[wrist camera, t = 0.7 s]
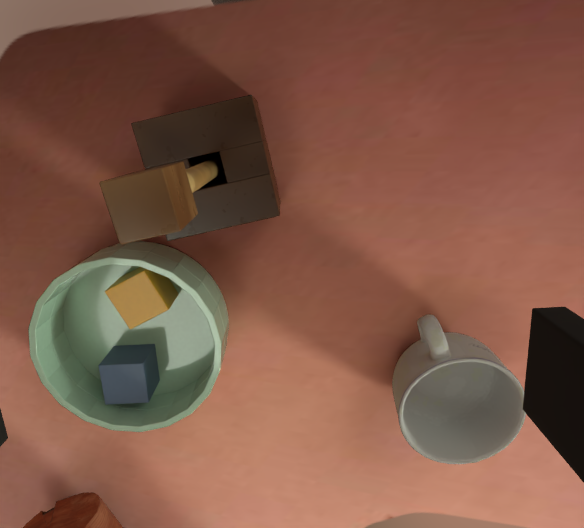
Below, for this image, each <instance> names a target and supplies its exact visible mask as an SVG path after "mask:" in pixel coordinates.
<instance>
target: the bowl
mask: <svg viewBox="0 0 584 528" xmlns="http://www.w3.org/2000/svg"><path fill="white" fill-rule="evenodd" d="M139 267H142V268H145V269H147V270H150V271H152V272H155V273H158V274H160V275H163V276H165V277H168V278H169V279H170V281H171V282H172V284H173V286H174V287H175V289H176V290H177V292H178V293H179V295H178V296H177V298H176V299H175V301H174V302H173V304H172V306H171V307H170V309H169V310H167V311H165V312H163V313H161V314H160V315H158V316H156V317H154V318H152V319H150V320H148V321H146V322H144V323H142V324H140V325H138V326H136V327H134V328H132V329H129V327H128V326H127V324H126V323H125V321H124V320H123V318H122V317H121V315H120V314H119V312H118V311H117V309H116V308H115V306H114V305H113V304H112V302H111V301H110V299H109V298H108V296H107V295H106V293H105V290H107V289H108V288H109V287H110V286H111V285H112V284H113V283H114V282H116V281H117V280H118V279H119V278H120V277H122V276H123V275H125V274H127V273H129V272H131V271H133V270H135V269H137V268H139ZM228 329H229V320H228V312H227V307H226V303H225V301H224V298H223V295H222V293H221V291H220V289H219V287H218V285H217V284H216V282H215V281H214V280H213V278H212V277H211V275H210V274H209V273H208V272H207V271H206V270H205V269H204V268H203V267H202V266H201V265H200V264H199V263H197V262H196V261H195V260H193V259H192V258H191V257H189V256H188V255H186V254H184V253H182V252H180V251H178V250H176V249H174V248H171V247H168V246H165V245H162V244H157V243H152V242H142V241H140V242H130V243H126V244H120V243H119V244H116V245H112V246H109V247H107V248H103V249H101V250H99V251H98V252H96V253H95V254H93V255H91V256H90V257H88V258H86V259H85V260H83V261H82V262H80V263H78V264H77V265H75V266H74V267H72V268H71V269H69V270H68V271H66V272H65V273H63V274H62V275H60V276H58V277H57V278H55V279H54V280H53V281H52V283H51V284H50V285H49V286H48V288H47V289H46V290H45V292H44V293H43V294H42V295H41V297H40V298H39V299H38V300H37V302H36V305H35V309H34V312H33V315H32V318H31V322H30V325H29V329H28V330H29V345H30V356H31V359H32V361H33V363H34V366H35V368H36V371H37V373H38V375H39V378H40V380H41V382H42V384H43V385H44V386H45V387H46V388H47V389H48V391H49V392H50V393H51V394H52V395H53V397H54V398H55V399H56V400H57V401H58V403H59V404H60V405H62V406H63V407H65V408H66V409H68V410H69V411H71V412H72V413H74V414H75V415H77V416H78V417H80V418H81V419H83V420H84V421H87V422H90V423H93V424H96V425H98V426H101V427H104V428H107V429H110V430H117V431H132V432H143V431H148V430H153V429H158V428H163V427H167V426H170V425H172V424H173V423H175V422H177V421H179V420H181V419H183V418H184V417H186V416H188V415H190V414H191V413H193V412H194V410H195V409H196V408H197V407H198V406H199V405H200V404H201V403H202V402H203V401H204V400H205V399H206V398H207V397H208V395H209V394H210V392H211V390H212V388H213V385H214V383H215V381H216V379H217V376H218V374H219V372H220V368H221V365H222V361H223V357H224V354H225V350H226V346H227V337H228ZM140 344H155V348H156V356H157V363H158V370H159V377H160V381H159V383H158V385H157V387H156V389H155V391H154V393H153V395H152V397H151V399H150V401H149V403H129V404H109V405H105V400H104V394H103V389H102V383H101V378H100V372H99V366H98V365H99V364H100V363H101V362H102V360H103V359H104V358H105V357H106V355H107V354H108V353H109V351H110V350H111V349H112V348H113V346H120V345H140Z"/></svg>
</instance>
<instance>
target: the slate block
mask: <svg viewBox="0 0 584 528" xmlns="http://www.w3.org/2000/svg"><path fill="white" fill-rule="evenodd" d="M98 366H99V372H100V378H101V383H102V389H103V394H104V400H105V405H109V404H129V403H149V401H150V399H151V397H152V395H153V393H154V391H155V389H156V387H157V385H158V383H159V381H160V377H159V370H158V363H157V356H156V348H155V344H140V345H120V346H113V348H112V349H111V350H110V351H109V353H108V354H107V355H106V357H105V358H104V359H103V360H102V362H101V363H100V364H99V365H98Z"/></svg>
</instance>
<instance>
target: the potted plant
mask: <svg viewBox="0 0 584 528" xmlns="http://www.w3.org/2000/svg"><path fill="white" fill-rule="evenodd" d="M23 528H123V527H122V525H121V524H120V523H119V522H118V520H117V519H116V518H115V516H114V515H113V514H112V512H111V511H110V510H109V509H108V507H107V506H106V505H105V503H104V502H103V501H102V499H101V498H100V497H99V496H98V495H96V494H95V493H81V494H78V495H74V496H71V497H68V498H66V499H63V500H60V501H57V502H56V505H55V507H54V508H52V509H51V510H49V511H47V512H43V511H41V512H40V513H38V514H37V515H36V516H35V517H34V518H33V519H32V520H30V521H29V522H28V523H27V524H26V525H25V526H24V527H23Z"/></svg>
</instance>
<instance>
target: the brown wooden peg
mask: <svg viewBox="0 0 584 528" xmlns="http://www.w3.org/2000/svg"><path fill="white" fill-rule="evenodd" d="M222 172H224V168H223V164H222V160H221V157H215V158H213V159H210V160H208V161H205V162H203V163H200V164H198V165H195V166H193V167H190V168H188V169H185V165H184V162H183V161H181V162H176V163H172V164H168V165H163V166H159V167H155V168H151V169H146V170H142V171H138V172H133V173H130V174H126V175H122V176H119V177H115V178H112V179H108V180H105V181H101V182H100V187H101V190H102V193H103V196H104V199H105V202H106V204H107V207H108V210H109V213H110V216H111V219H112V222H113V225H114V228H115V231H116V234H117V237H118V240H119V243H120V244H126V243H130V242H135V241H139V240H144V239H148V238H152V237H157V236H161V235H166V234H170V233H174V232H179V231H181V230H182V229H183V228H184V227H185V226H186V225H187V224H188V223H189V222H190V221H191V220H192V219H193V218H194V217H195V216H196V215H197V214H198V211H197V208H196V204H195V201H194V197H193V194H192V193H193V192H195V191H196V190H198V189H199V188H201V187H202V186H204V185H205V184H207V183H208V182H209V181H211V180H212V179H214V178H215V177H217V176H218V175H220V174H221V173H222Z"/></svg>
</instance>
